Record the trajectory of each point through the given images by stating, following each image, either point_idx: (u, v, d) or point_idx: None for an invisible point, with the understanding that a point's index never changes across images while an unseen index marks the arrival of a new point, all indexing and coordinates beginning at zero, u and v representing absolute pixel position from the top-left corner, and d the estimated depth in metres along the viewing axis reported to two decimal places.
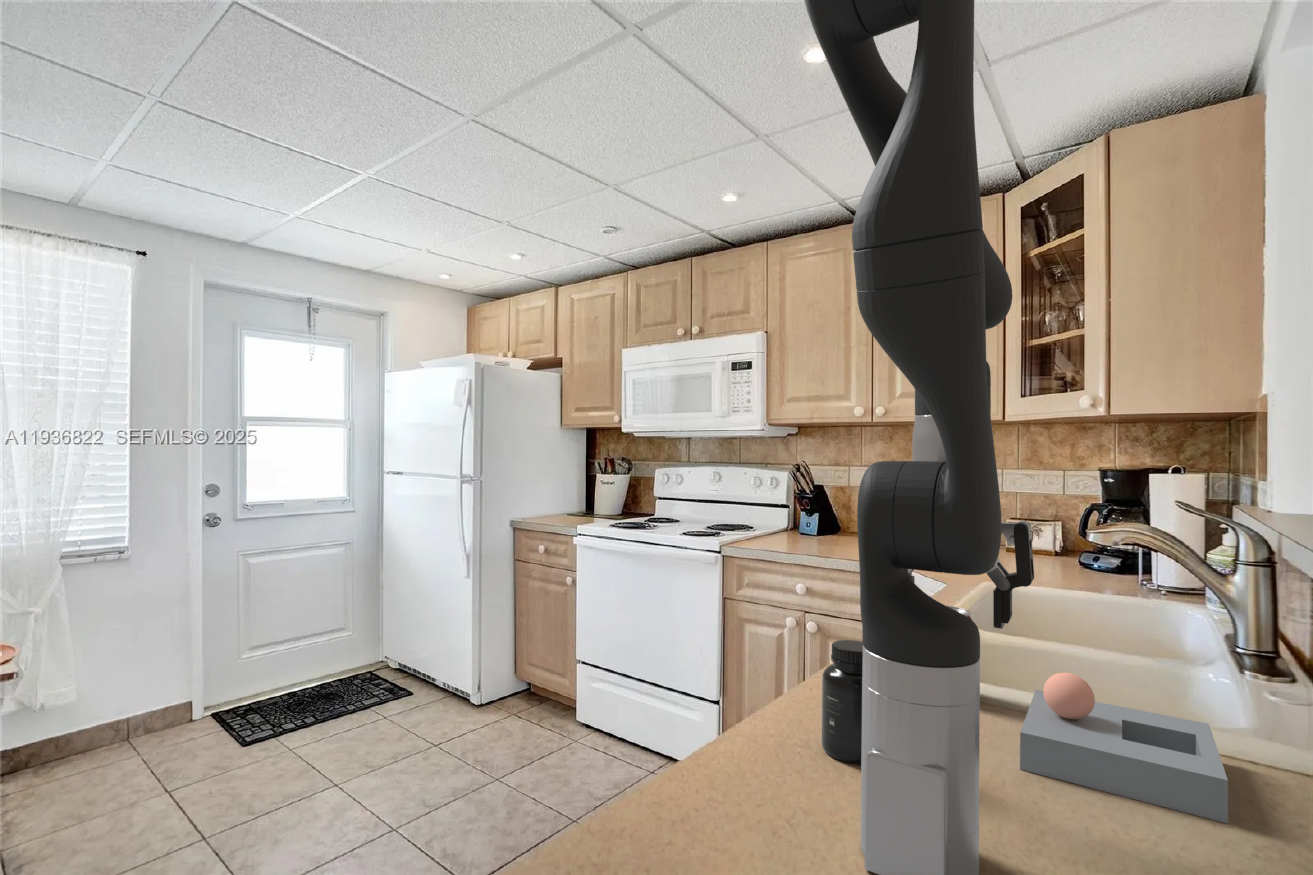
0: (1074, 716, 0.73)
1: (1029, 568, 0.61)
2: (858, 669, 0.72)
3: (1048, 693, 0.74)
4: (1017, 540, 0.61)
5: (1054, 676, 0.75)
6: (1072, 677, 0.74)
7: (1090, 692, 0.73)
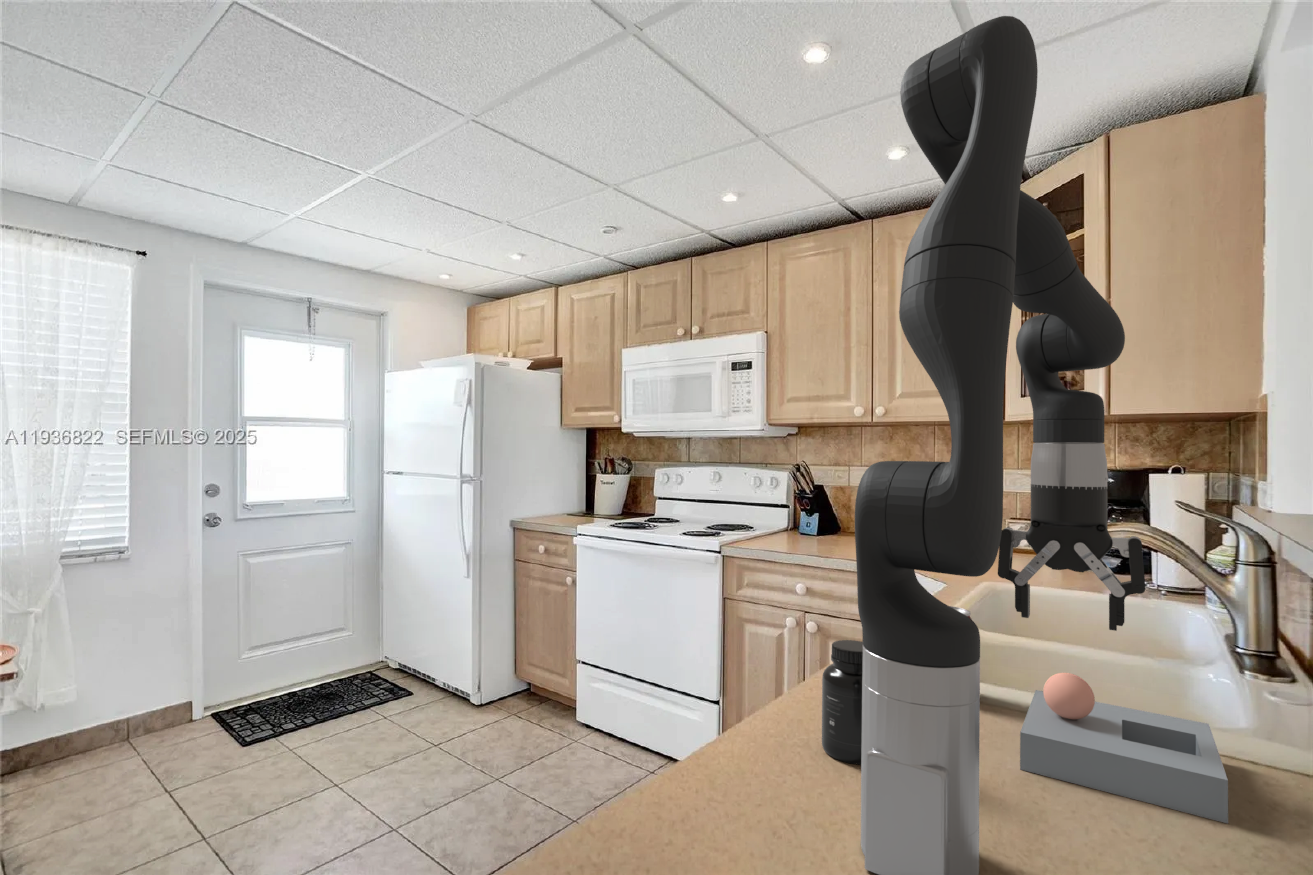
0: (1074, 716, 0.73)
1: (1143, 577, 0.70)
2: (858, 669, 0.72)
3: (1048, 693, 0.74)
4: (1132, 553, 0.71)
5: (1054, 676, 0.75)
6: (1072, 677, 0.74)
7: (1090, 692, 0.73)
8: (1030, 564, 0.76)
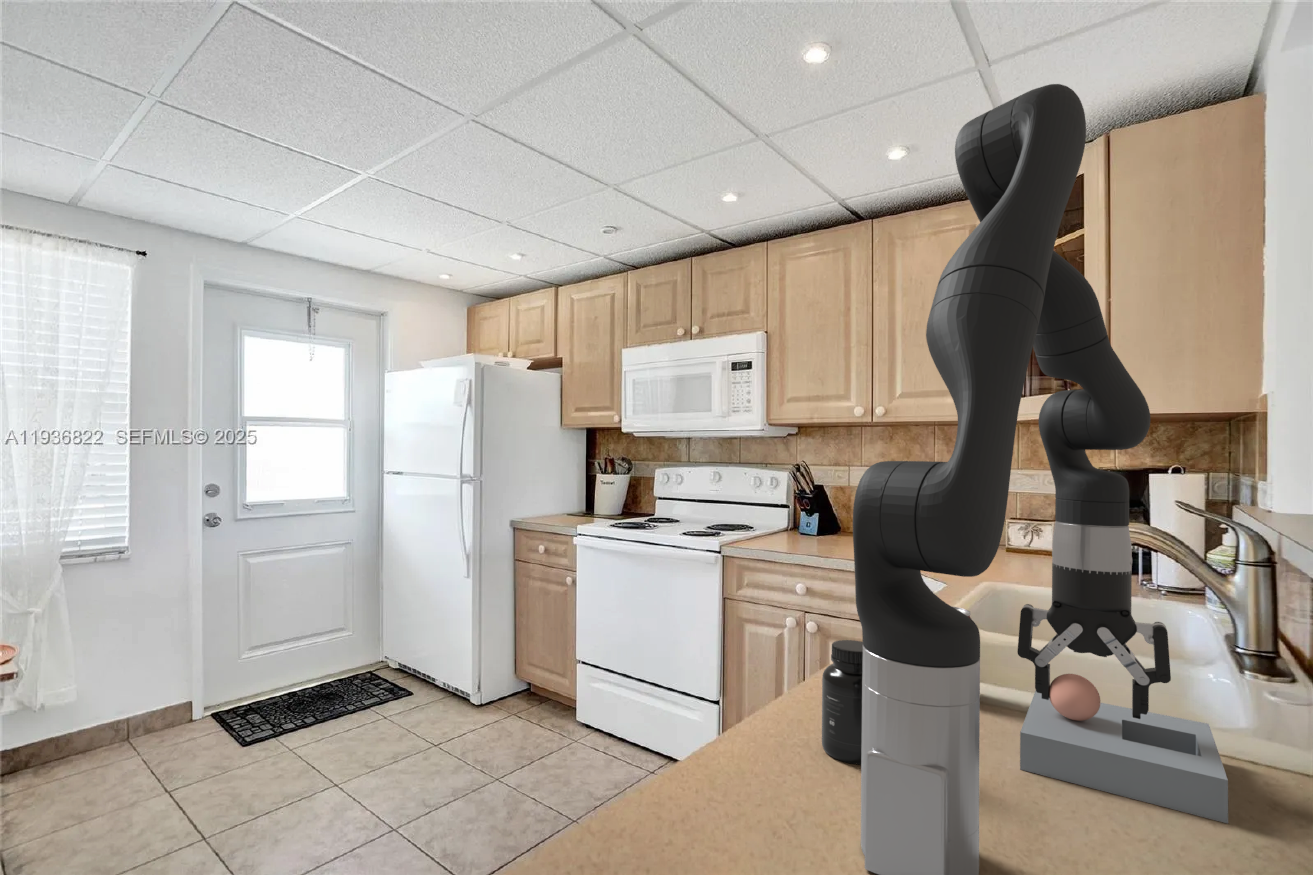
0: (1076, 718, 0.73)
1: (1168, 667, 0.69)
2: (858, 669, 0.72)
3: (1055, 691, 0.74)
4: (1157, 641, 0.69)
5: (1064, 676, 0.74)
6: (1083, 680, 0.73)
7: (1098, 698, 0.72)
8: (1051, 646, 0.74)
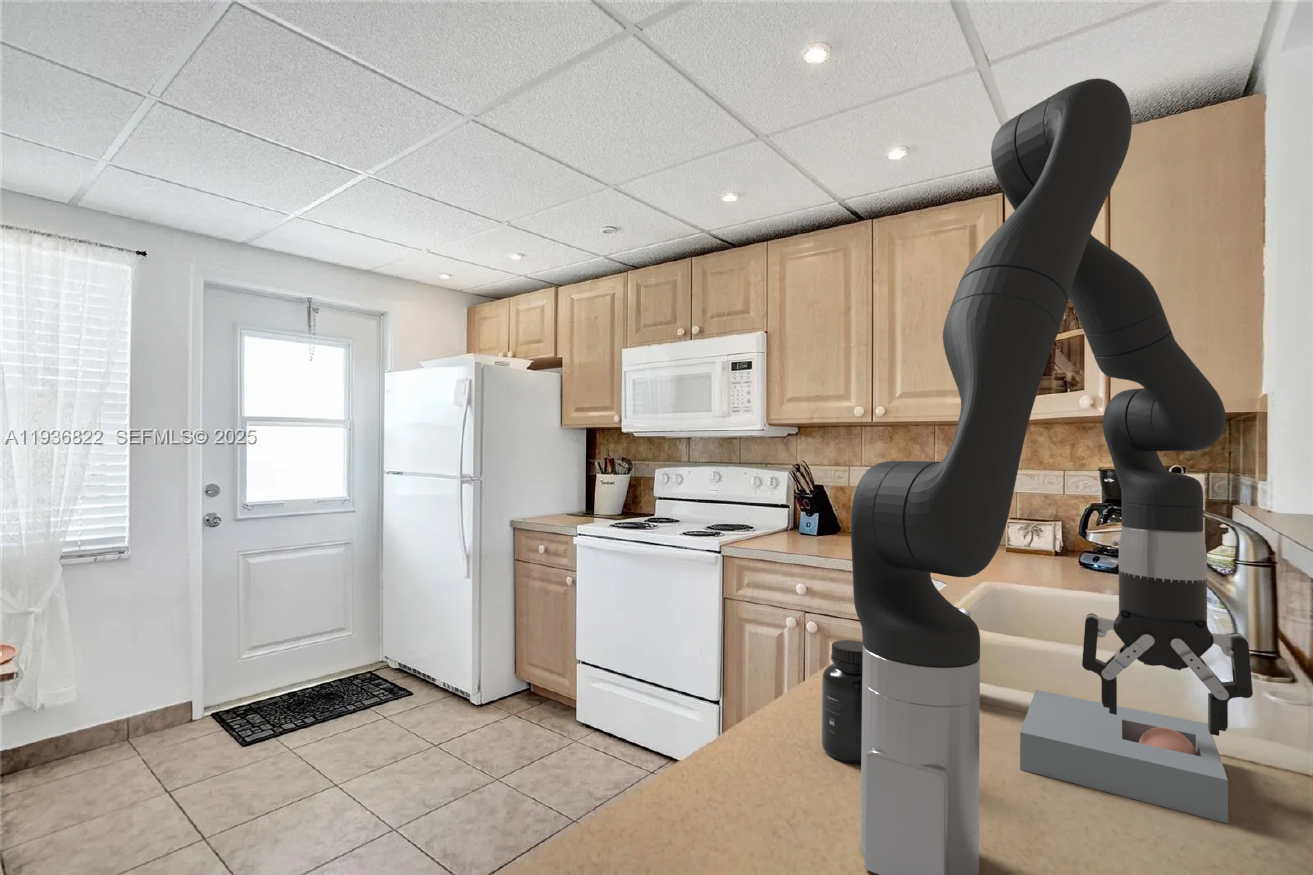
0: (1179, 745, 0.67)
1: (1250, 681, 0.65)
2: (858, 669, 0.72)
3: None
4: (1237, 653, 0.65)
5: None
6: None
7: (1142, 741, 0.70)
8: (1120, 658, 0.70)
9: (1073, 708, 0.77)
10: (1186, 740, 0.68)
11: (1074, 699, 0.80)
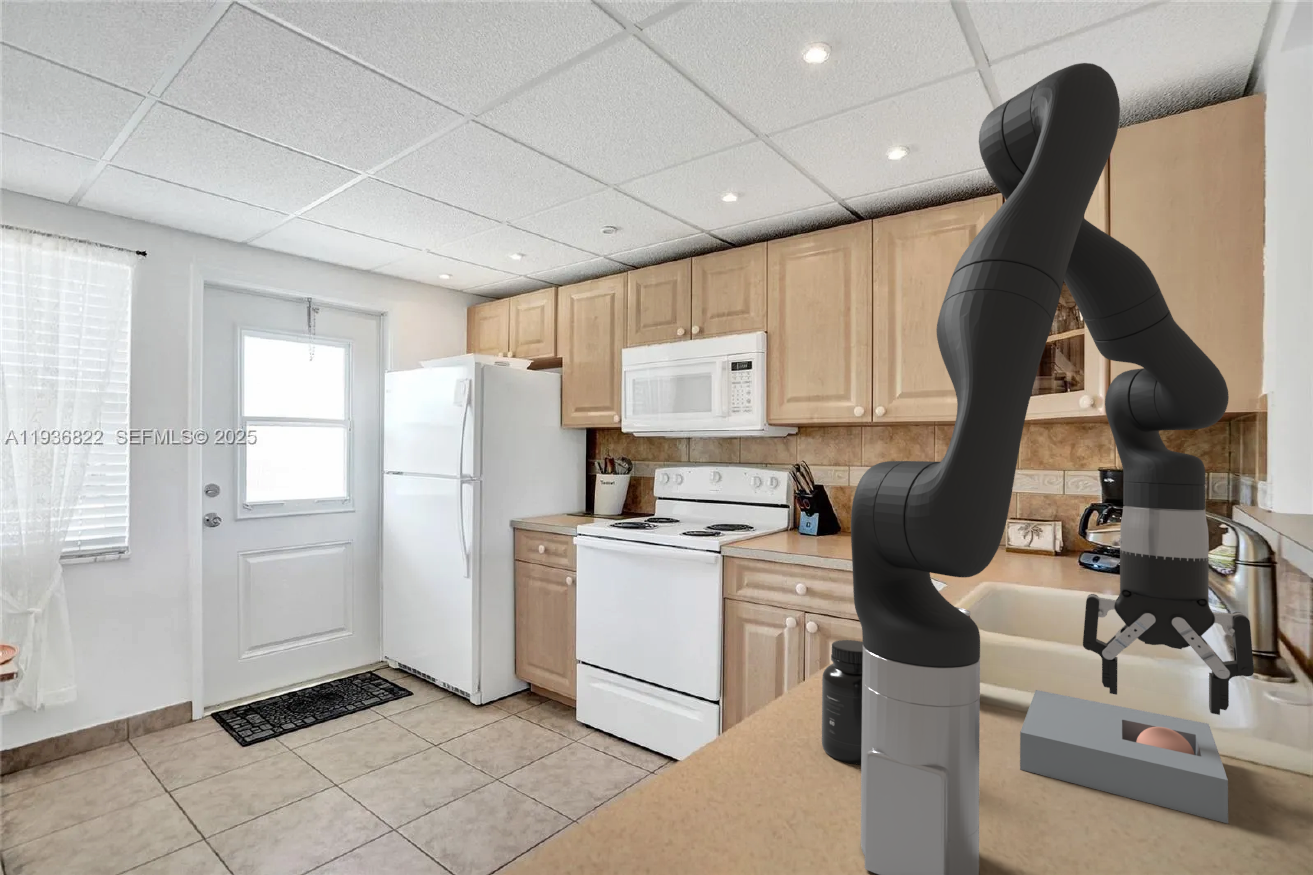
0: (1174, 743, 0.68)
1: (1251, 659, 0.65)
2: (858, 669, 0.72)
3: None
4: (1238, 632, 0.65)
5: None
6: None
7: (1138, 742, 0.70)
8: (1121, 637, 0.70)
9: (1073, 708, 0.77)
10: (1181, 738, 0.68)
11: (1074, 699, 0.80)
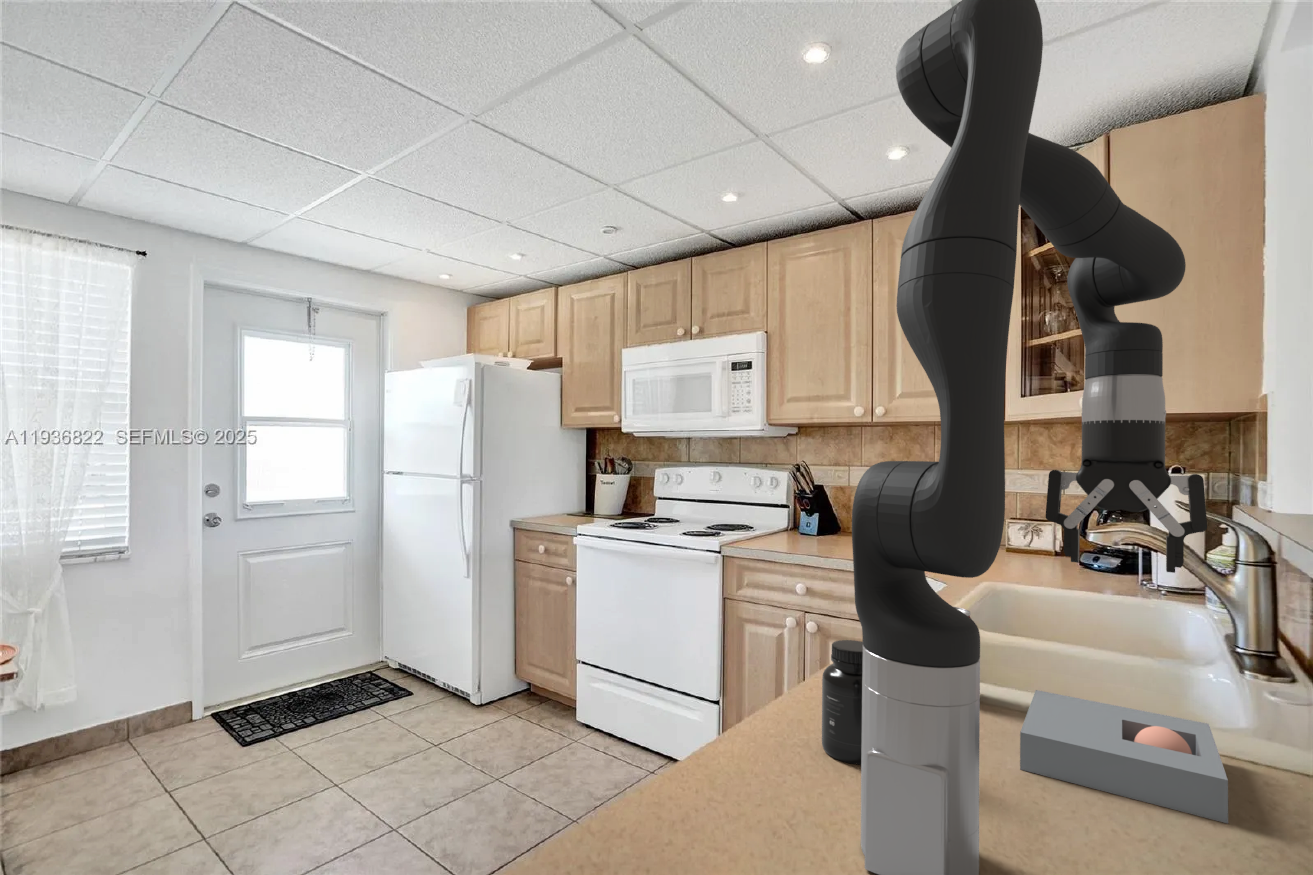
0: (1170, 742, 0.68)
1: (1205, 515, 0.66)
2: (858, 669, 0.72)
3: None
4: (1192, 489, 0.67)
5: None
6: None
7: None
8: (1081, 505, 0.72)
9: (1073, 708, 0.77)
10: (1176, 736, 0.68)
11: (1074, 699, 0.80)
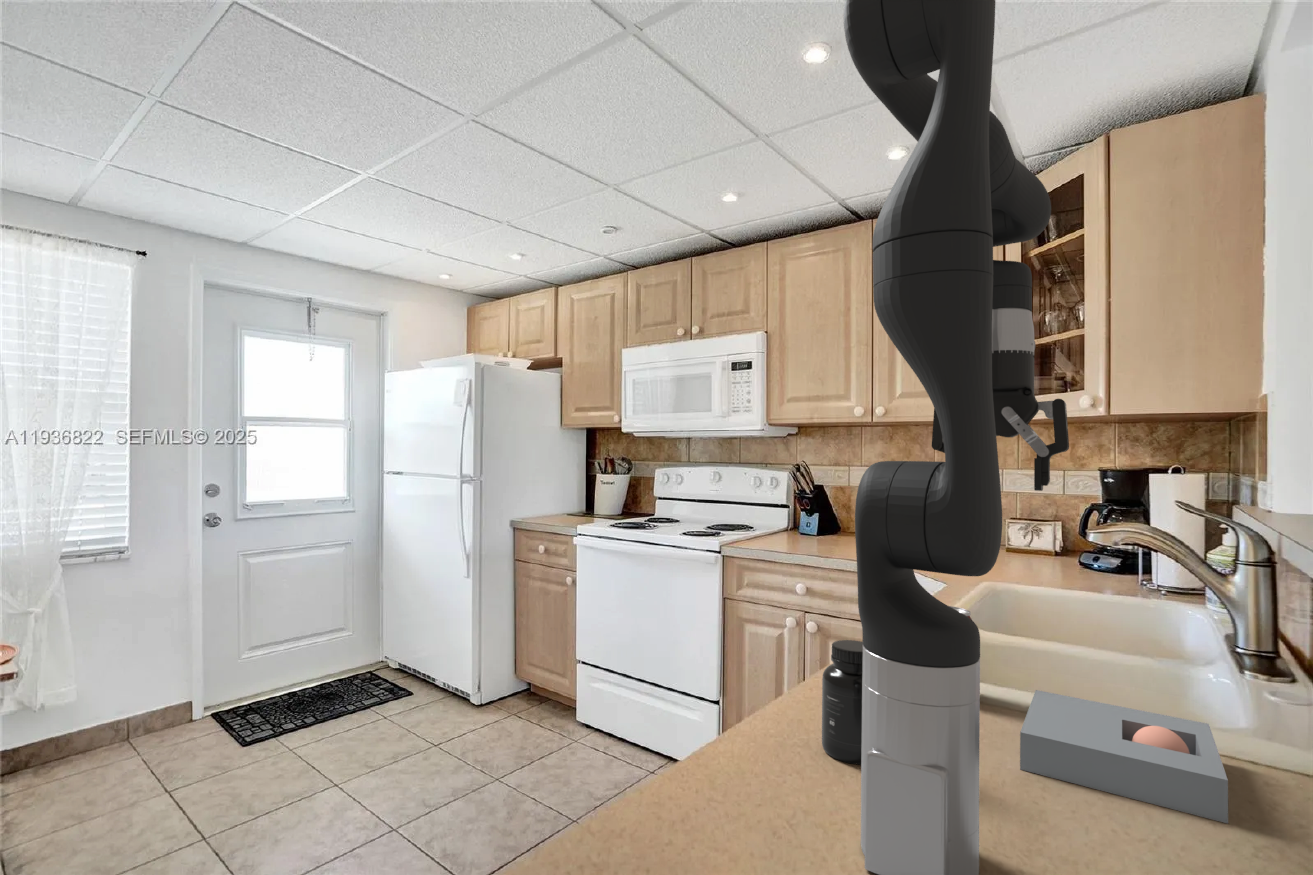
0: (1166, 741, 0.68)
1: (1065, 435, 0.72)
2: (858, 669, 0.72)
3: None
4: (1055, 413, 0.72)
5: None
6: None
7: None
8: None
9: (1073, 708, 0.77)
10: (1172, 734, 0.69)
11: (1074, 699, 0.80)
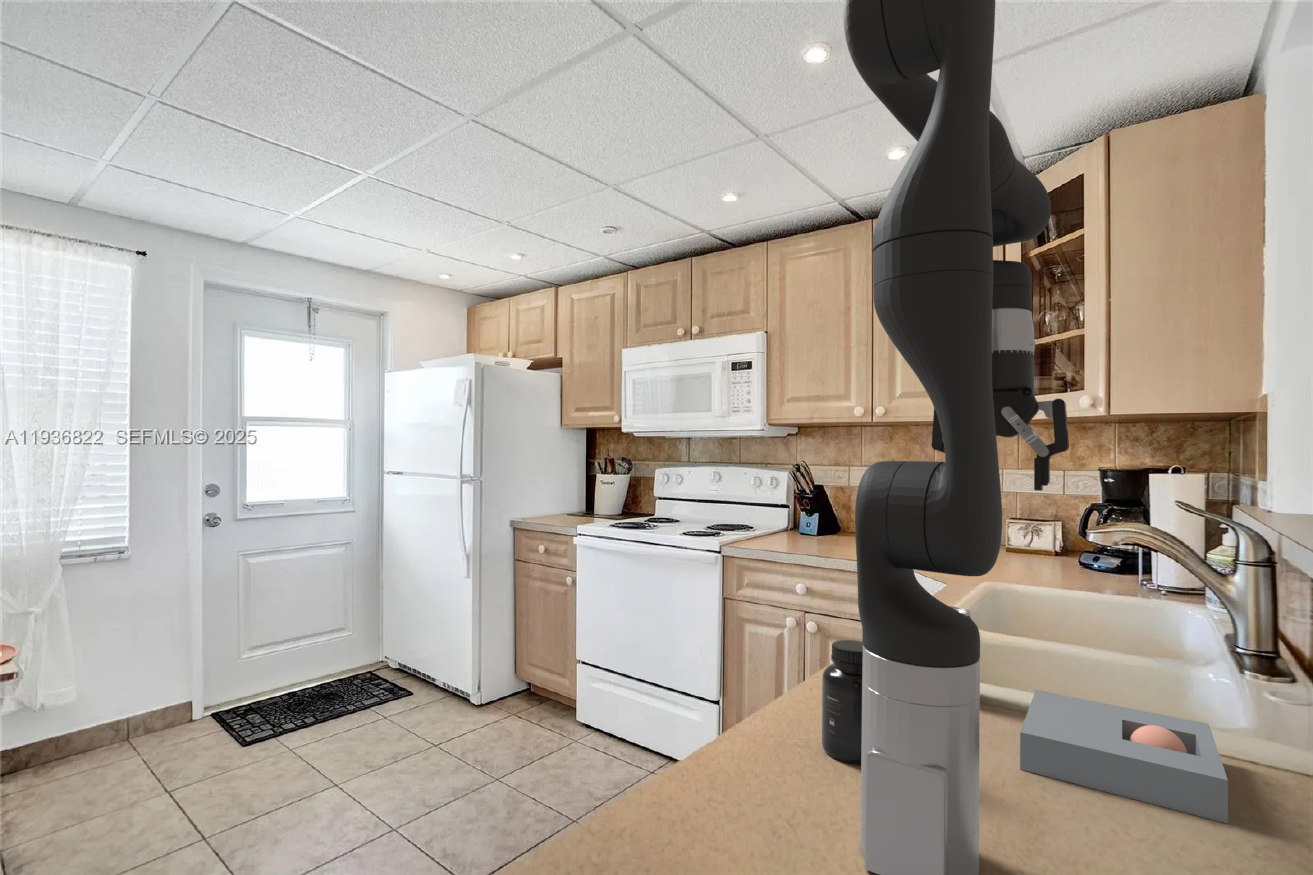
0: (1162, 740, 0.68)
1: (1065, 435, 0.72)
2: (858, 669, 0.72)
3: None
4: (1055, 413, 0.73)
5: None
6: None
7: None
8: None
9: (1073, 708, 0.77)
10: (1168, 732, 0.69)
11: (1074, 699, 0.80)
